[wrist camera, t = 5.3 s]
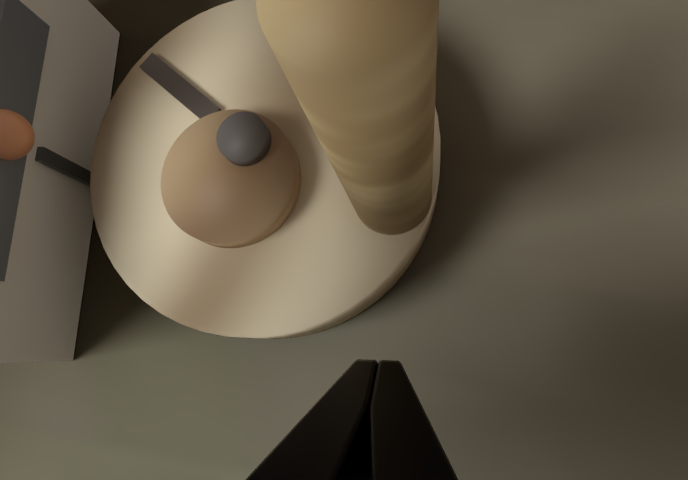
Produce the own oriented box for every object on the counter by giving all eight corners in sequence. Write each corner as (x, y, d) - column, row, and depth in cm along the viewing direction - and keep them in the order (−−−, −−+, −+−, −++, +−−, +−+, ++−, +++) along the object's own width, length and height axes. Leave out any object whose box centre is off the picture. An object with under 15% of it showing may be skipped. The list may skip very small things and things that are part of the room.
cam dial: (82, 270, 19) (-400, 161, 8) (207, 8, 21) (-46, -384, 10) (367, 393, 16) (243, 491, 5) (484, 79, 18) (578, -354, 7)
